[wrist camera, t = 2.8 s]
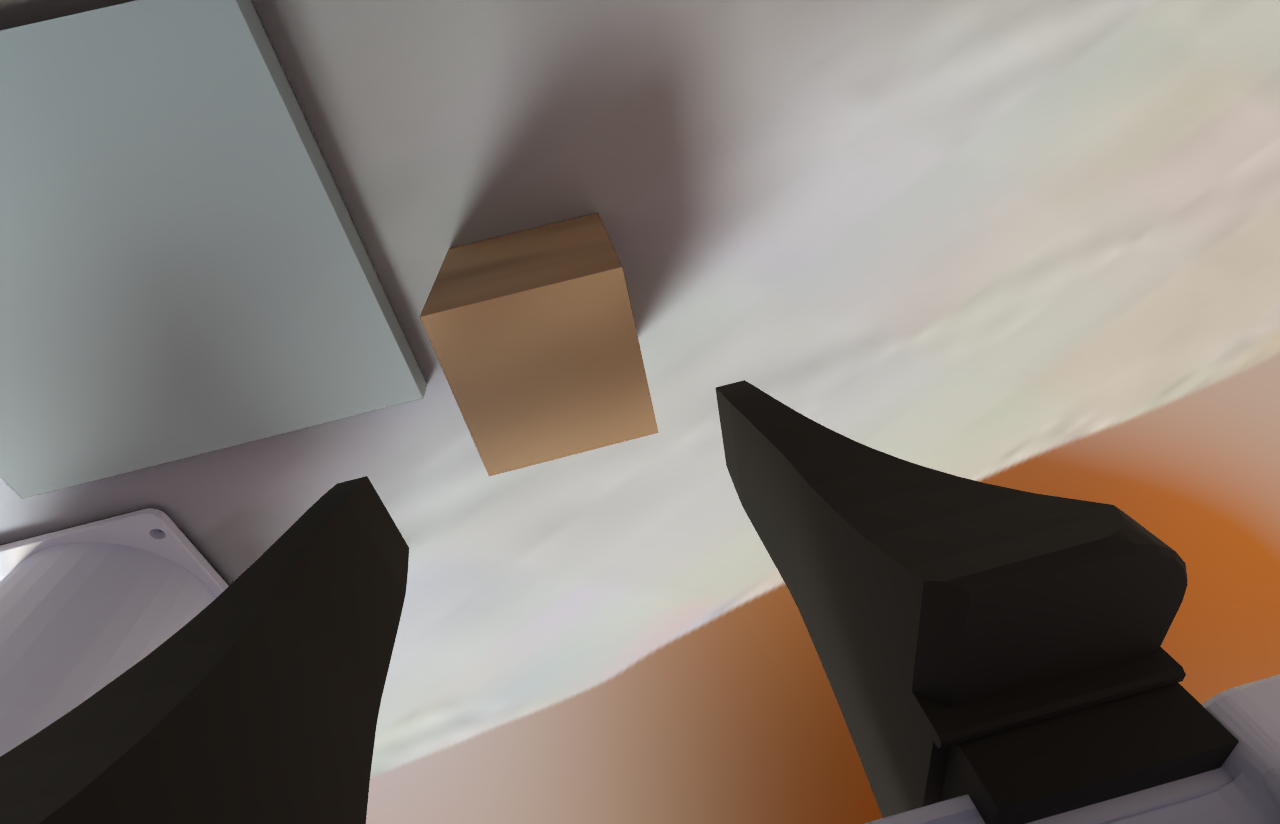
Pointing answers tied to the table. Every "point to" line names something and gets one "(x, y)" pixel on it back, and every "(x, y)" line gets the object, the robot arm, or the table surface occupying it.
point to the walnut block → (540, 344)
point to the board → (172, 250)
